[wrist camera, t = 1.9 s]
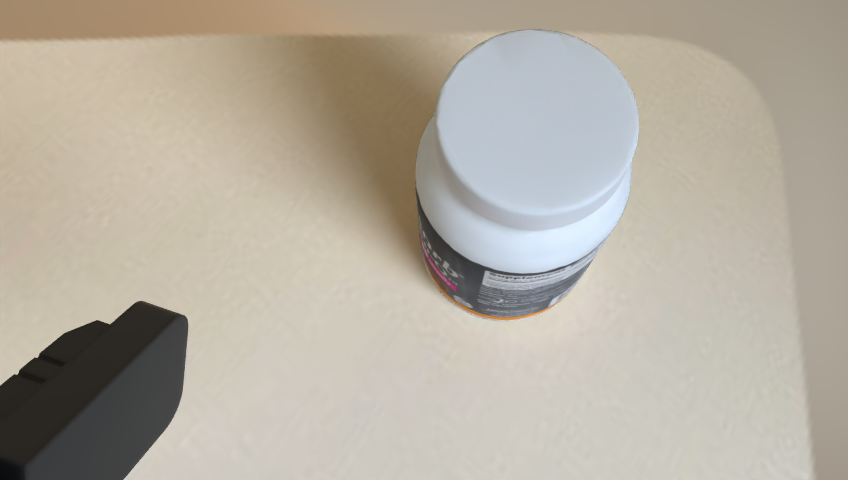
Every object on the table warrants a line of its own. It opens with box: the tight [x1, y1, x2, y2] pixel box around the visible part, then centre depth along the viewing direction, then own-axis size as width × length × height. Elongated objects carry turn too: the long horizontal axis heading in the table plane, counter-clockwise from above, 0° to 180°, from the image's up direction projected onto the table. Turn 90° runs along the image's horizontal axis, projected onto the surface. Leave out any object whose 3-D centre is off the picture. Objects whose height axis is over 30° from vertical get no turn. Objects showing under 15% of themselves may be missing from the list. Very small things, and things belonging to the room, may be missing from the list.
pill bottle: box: [415, 29, 639, 321], centre depth 23 cm, size 6×6×10 cm
